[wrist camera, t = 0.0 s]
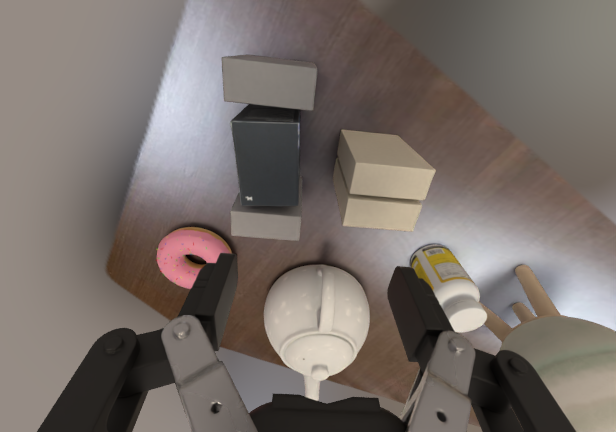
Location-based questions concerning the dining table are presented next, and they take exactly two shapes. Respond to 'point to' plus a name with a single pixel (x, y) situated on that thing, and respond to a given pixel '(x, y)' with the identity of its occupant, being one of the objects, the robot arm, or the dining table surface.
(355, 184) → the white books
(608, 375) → the planter
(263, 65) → the grey books
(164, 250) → the doughnut
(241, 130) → the box
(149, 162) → the dining table surface
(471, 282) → the pill bottle
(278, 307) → the teapot
